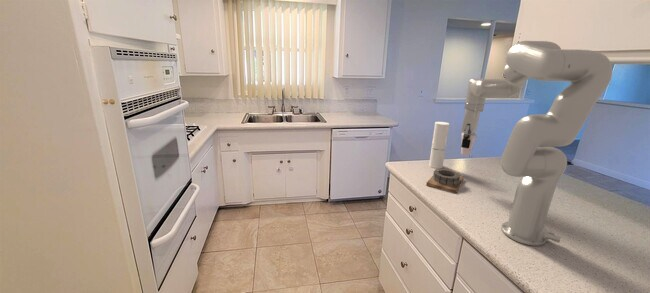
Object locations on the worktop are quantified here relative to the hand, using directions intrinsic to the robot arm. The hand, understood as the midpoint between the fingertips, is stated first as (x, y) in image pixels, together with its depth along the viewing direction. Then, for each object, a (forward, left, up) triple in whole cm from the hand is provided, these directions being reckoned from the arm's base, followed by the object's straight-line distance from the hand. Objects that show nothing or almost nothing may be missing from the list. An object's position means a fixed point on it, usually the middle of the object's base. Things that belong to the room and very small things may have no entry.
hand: (466, 145), depth 126 cm
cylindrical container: (+16, -17, -20) cm, 31 cm away
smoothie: (0, 0, -4) cm, 4 cm away
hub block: (+6, +3, -20) cm, 21 cm away
